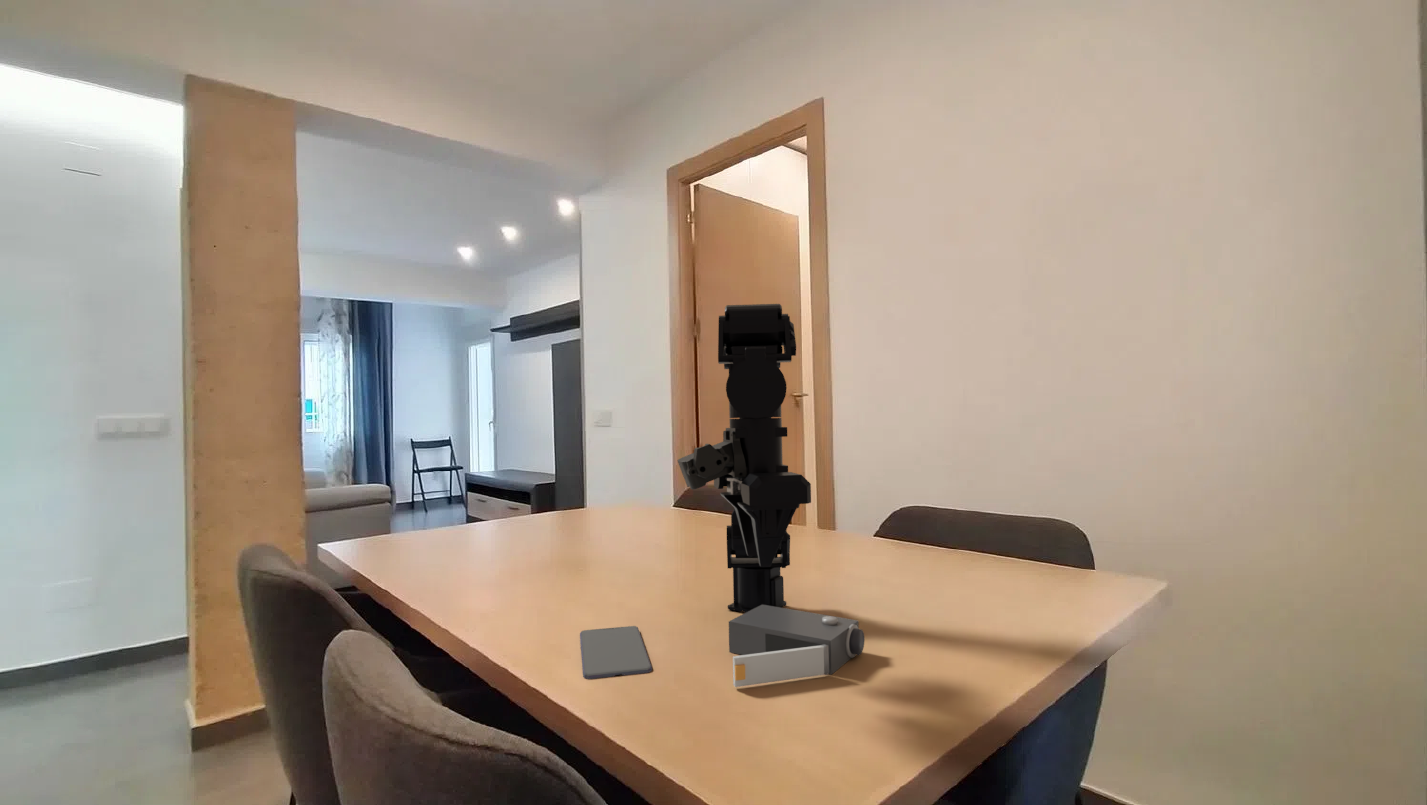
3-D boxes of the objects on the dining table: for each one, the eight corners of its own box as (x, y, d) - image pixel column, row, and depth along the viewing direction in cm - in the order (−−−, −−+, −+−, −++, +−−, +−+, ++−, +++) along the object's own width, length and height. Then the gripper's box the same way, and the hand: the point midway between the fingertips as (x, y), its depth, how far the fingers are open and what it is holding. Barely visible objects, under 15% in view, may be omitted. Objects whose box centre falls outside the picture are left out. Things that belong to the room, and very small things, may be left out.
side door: (736, 688, 65) (735, 659, 65) (733, 684, 66) (732, 656, 66) (831, 675, 68) (830, 647, 68) (827, 671, 69) (826, 644, 69)
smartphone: (583, 675, 69) (579, 629, 84) (583, 684, 69) (579, 637, 84) (653, 668, 71) (637, 624, 85) (653, 677, 71) (637, 631, 85)
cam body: (728, 652, 76) (728, 617, 76) (762, 632, 83) (761, 600, 83) (840, 676, 69) (838, 637, 69) (867, 653, 75) (866, 617, 75)
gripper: (671, 419, 78) (673, 548, 78) (697, 419, 60) (700, 588, 60) (760, 418, 81) (762, 543, 80) (811, 417, 62) (814, 580, 62)
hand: (758, 561), depth 70 cm, fingers open, 5 cm apart
